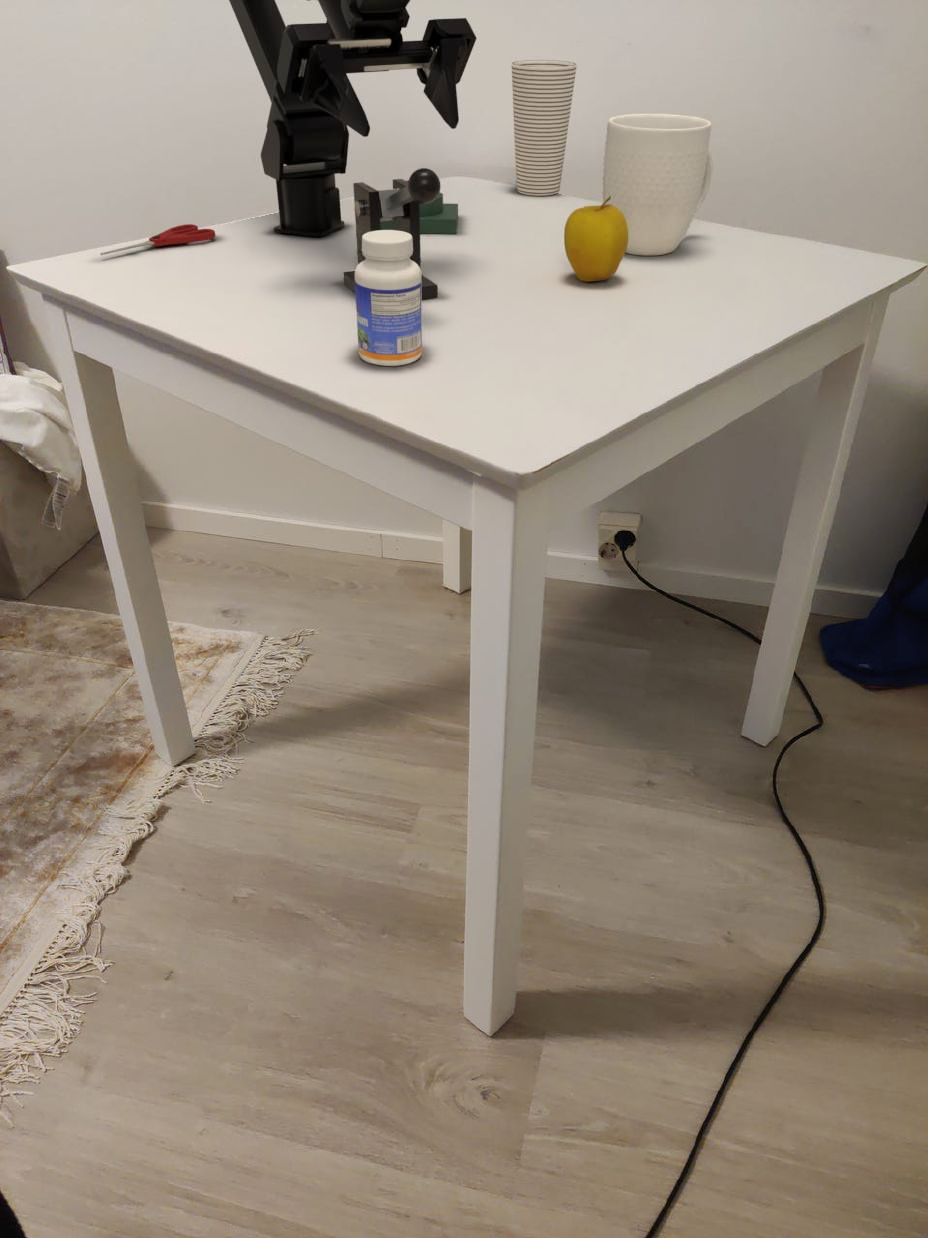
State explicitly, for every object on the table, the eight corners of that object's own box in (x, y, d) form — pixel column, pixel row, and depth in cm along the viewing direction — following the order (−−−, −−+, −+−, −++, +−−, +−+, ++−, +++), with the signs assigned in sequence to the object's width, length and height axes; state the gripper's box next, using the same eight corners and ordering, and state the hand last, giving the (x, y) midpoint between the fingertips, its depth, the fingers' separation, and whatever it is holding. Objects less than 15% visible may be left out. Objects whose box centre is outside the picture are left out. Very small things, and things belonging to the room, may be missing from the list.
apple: (630, 275, 100) (639, 193, 95) (612, 291, 95) (620, 206, 91) (573, 267, 102) (579, 187, 98) (552, 283, 97) (557, 200, 93)
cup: (503, 196, 130) (507, 65, 121) (511, 183, 137) (515, 58, 128) (565, 199, 129) (574, 67, 120) (570, 186, 136) (578, 60, 127)
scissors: (219, 238, 111) (218, 229, 110) (115, 263, 102) (113, 253, 101) (190, 230, 114) (189, 221, 113) (87, 254, 105) (85, 245, 104)
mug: (662, 226, 117) (677, 106, 109) (735, 245, 110) (756, 118, 102) (576, 246, 109) (585, 118, 102) (648, 267, 102) (664, 132, 95)
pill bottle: (359, 345, 82) (352, 227, 77) (421, 343, 83) (419, 226, 77) (358, 368, 78) (351, 244, 72) (424, 366, 78) (422, 243, 73)
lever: (447, 199, 81) (442, 163, 81) (417, 202, 80) (412, 166, 80) (397, 221, 93) (393, 190, 92) (370, 224, 92) (365, 193, 91)
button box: (372, 232, 114) (371, 201, 112) (379, 216, 120) (377, 187, 118) (456, 233, 114) (456, 202, 112) (458, 217, 120) (458, 187, 118)
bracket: (437, 297, 94) (436, 190, 88) (371, 306, 91) (365, 196, 85) (407, 275, 99) (404, 174, 94) (343, 283, 97) (336, 179, 91)
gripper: (268, -90, 79) (337, 59, 76) (461, -86, 87) (530, 49, 84) (251, 27, 89) (312, 163, 86) (426, 21, 97) (487, 145, 94)
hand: (412, 128), depth 88 cm, fingers open, 9 cm apart
